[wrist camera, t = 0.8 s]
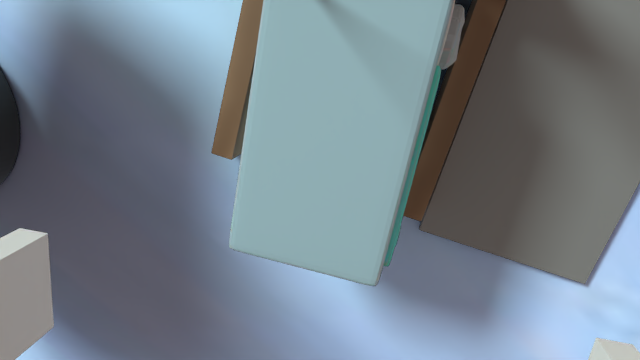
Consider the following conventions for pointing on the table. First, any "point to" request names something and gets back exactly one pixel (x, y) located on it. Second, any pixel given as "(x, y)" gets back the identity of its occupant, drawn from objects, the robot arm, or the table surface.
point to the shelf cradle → (441, 120)
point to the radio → (338, 129)
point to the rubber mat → (547, 137)
